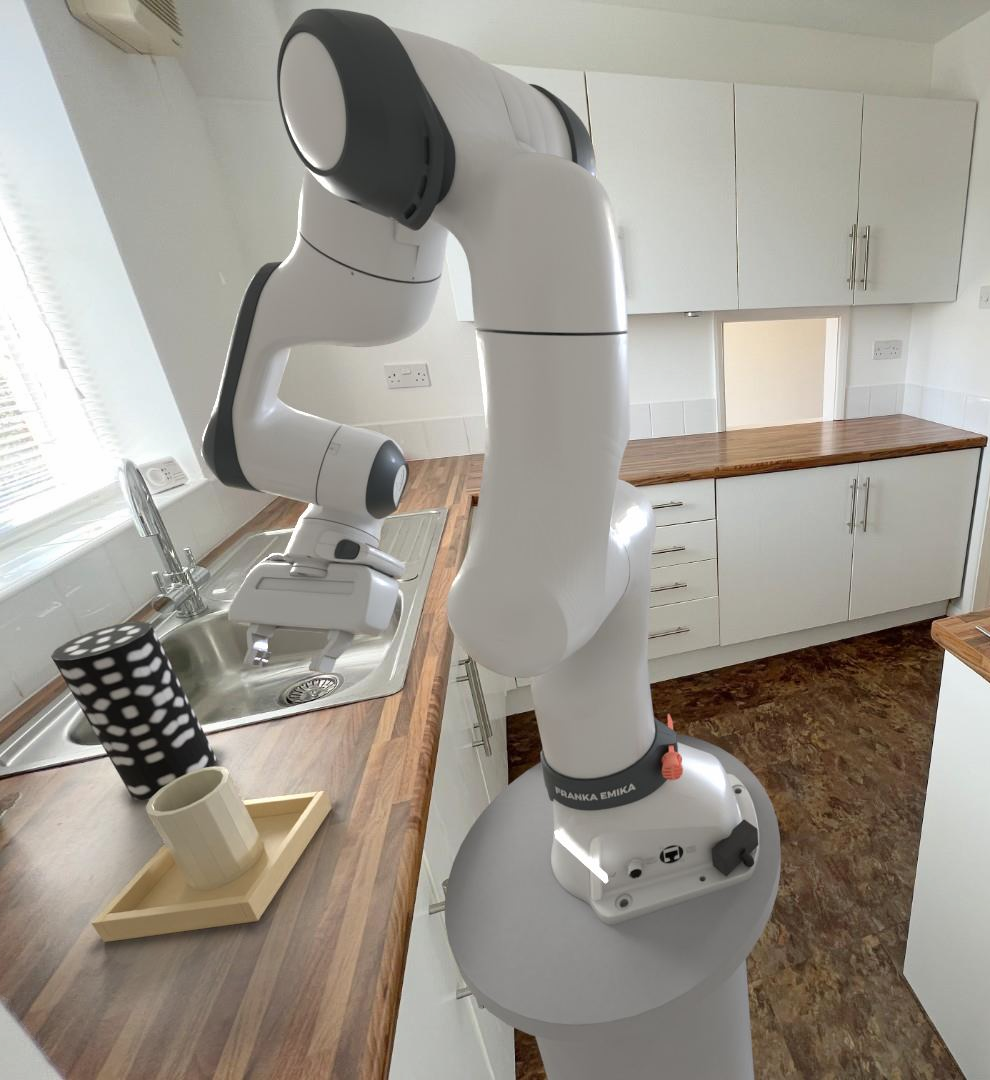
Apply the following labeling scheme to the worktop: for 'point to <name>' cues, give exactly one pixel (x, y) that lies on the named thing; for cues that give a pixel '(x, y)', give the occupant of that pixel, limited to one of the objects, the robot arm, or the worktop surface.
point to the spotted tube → (135, 705)
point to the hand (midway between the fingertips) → (286, 669)
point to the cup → (206, 827)
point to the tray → (173, 906)
